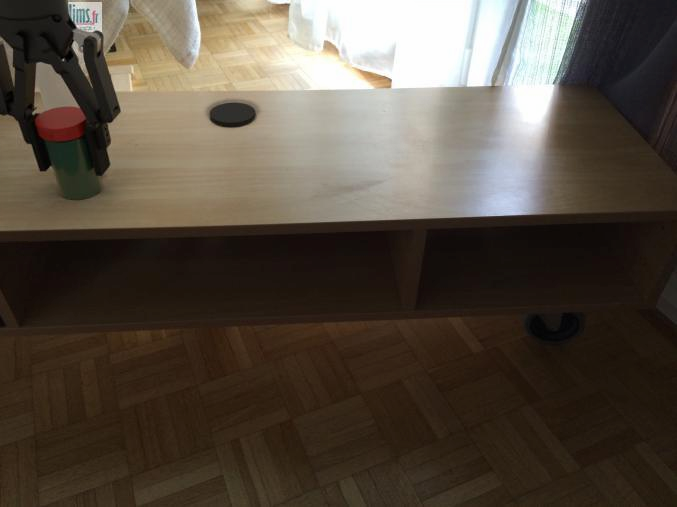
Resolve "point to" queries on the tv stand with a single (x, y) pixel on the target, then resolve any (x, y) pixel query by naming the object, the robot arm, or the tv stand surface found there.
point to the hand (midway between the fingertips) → (75, 167)
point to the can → (54, 86)
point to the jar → (73, 168)
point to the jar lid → (61, 124)
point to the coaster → (232, 114)
